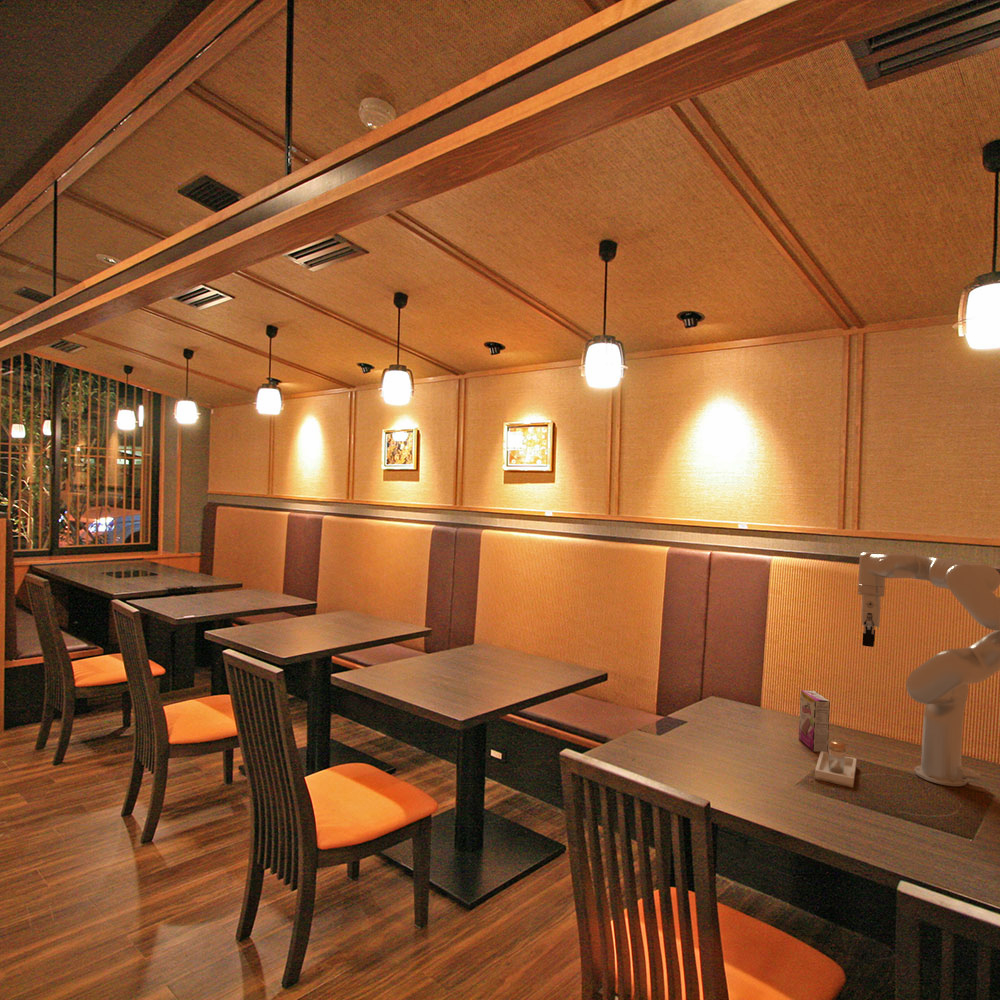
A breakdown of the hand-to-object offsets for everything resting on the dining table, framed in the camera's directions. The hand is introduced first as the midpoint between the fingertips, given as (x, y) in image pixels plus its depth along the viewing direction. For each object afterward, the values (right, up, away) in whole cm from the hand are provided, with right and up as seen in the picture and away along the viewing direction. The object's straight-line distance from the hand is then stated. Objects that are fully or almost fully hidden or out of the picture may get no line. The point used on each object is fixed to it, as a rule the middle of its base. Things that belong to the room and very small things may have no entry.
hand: (868, 643), depth 218 cm
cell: (-22, -32, -23) cm, 45 cm away
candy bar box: (-19, -33, -1) cm, 38 cm away
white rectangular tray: (-22, -32, -23) cm, 45 cm away
